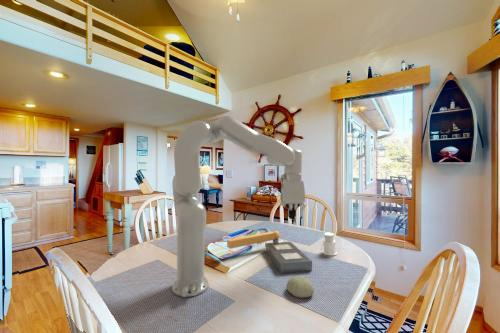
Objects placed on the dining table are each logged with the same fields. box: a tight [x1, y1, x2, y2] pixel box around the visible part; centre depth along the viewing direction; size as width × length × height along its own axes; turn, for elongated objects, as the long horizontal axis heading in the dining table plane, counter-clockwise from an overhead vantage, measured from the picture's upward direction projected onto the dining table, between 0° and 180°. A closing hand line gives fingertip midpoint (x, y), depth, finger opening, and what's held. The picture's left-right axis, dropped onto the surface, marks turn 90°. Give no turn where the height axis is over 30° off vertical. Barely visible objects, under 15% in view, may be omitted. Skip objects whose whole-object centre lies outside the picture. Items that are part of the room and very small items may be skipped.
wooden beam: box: [226, 230, 280, 250], centre depth 113 cm, size 30×4×4 cm, turn 122°
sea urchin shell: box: [286, 275, 315, 299], centre depth 78 cm, size 9×8×8 cm
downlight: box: [320, 232, 339, 256], centre depth 114 cm, size 8×7×10 cm
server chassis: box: [264, 239, 313, 274], centre depth 107 cm, size 30×14×5 cm, turn 12°
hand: (291, 218), depth 98 cm, fingers closed
